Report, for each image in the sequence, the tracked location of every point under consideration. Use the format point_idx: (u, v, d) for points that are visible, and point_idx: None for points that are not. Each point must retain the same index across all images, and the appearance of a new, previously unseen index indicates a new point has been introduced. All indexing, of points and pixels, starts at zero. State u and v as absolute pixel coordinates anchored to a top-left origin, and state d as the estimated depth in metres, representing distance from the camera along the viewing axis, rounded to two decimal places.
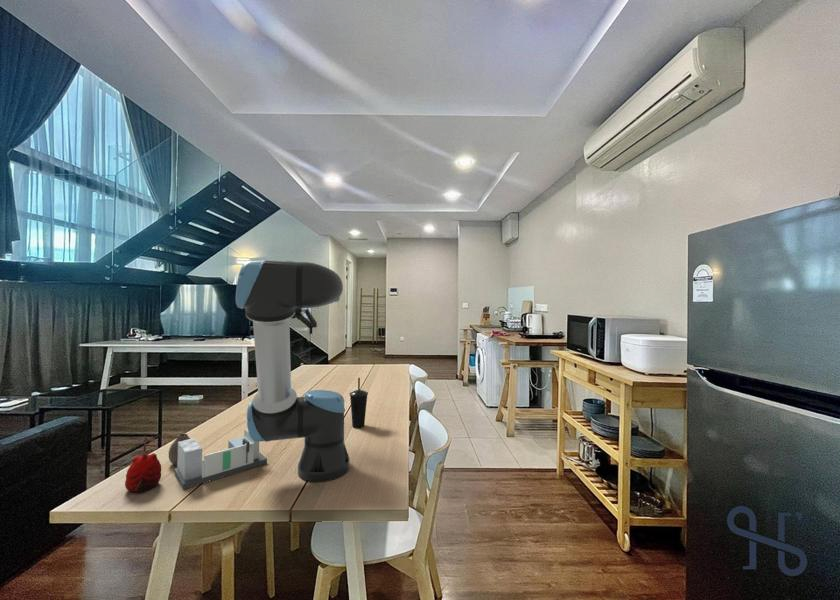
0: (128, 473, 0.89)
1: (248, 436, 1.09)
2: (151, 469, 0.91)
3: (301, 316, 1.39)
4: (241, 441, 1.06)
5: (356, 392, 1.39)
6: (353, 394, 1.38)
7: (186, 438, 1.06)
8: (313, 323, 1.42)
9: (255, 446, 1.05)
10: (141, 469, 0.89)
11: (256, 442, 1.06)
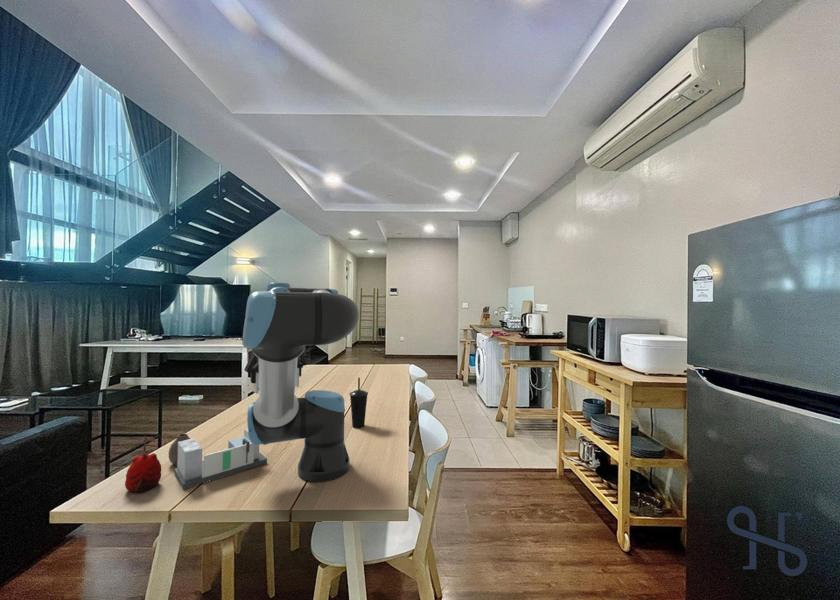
0: (128, 473, 0.89)
1: (248, 436, 1.09)
2: (151, 469, 0.91)
3: None
4: (241, 441, 1.06)
5: (356, 392, 1.39)
6: (353, 394, 1.38)
7: (186, 438, 1.06)
8: (303, 359, 1.21)
9: (255, 446, 1.05)
10: (141, 469, 0.89)
11: None
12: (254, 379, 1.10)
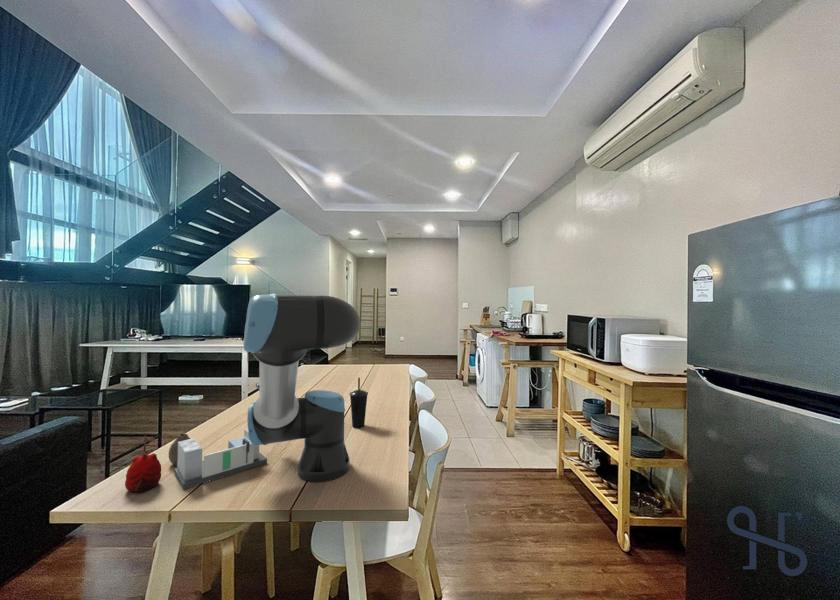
0: (128, 473, 0.89)
1: (248, 436, 1.09)
2: (151, 469, 0.91)
3: None
4: (241, 441, 1.06)
5: (356, 392, 1.39)
6: (353, 394, 1.38)
7: (186, 438, 1.06)
8: None
9: (255, 446, 1.05)
10: (141, 469, 0.89)
11: None
12: None
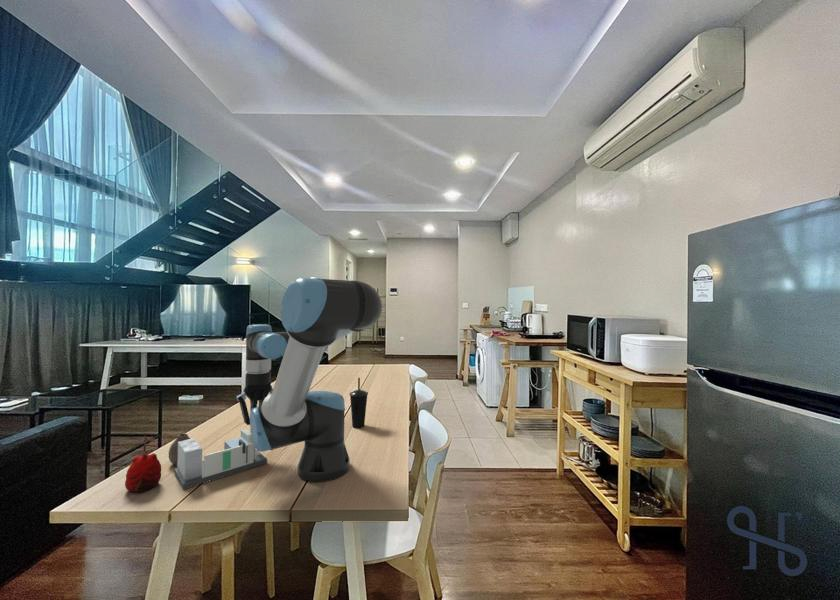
0: (128, 473, 0.89)
1: (244, 437, 1.08)
2: (151, 469, 0.91)
3: None
4: (237, 442, 1.06)
5: (356, 392, 1.39)
6: (353, 394, 1.38)
7: (186, 438, 1.06)
8: None
9: None
10: (141, 469, 0.89)
11: None
12: None
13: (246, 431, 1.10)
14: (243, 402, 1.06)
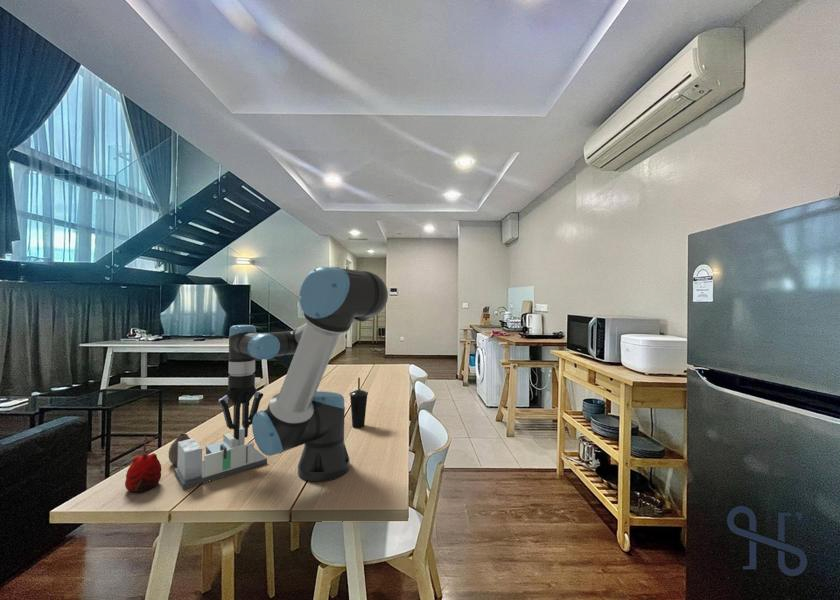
0: (128, 473, 0.89)
1: (227, 441, 1.04)
2: (151, 469, 0.91)
3: None
4: (219, 447, 1.02)
5: (356, 392, 1.39)
6: (353, 394, 1.38)
7: (186, 438, 1.06)
8: (254, 416, 1.08)
9: None
10: (141, 469, 0.89)
11: None
12: (237, 435, 1.05)
13: (229, 435, 1.06)
14: (225, 405, 1.03)
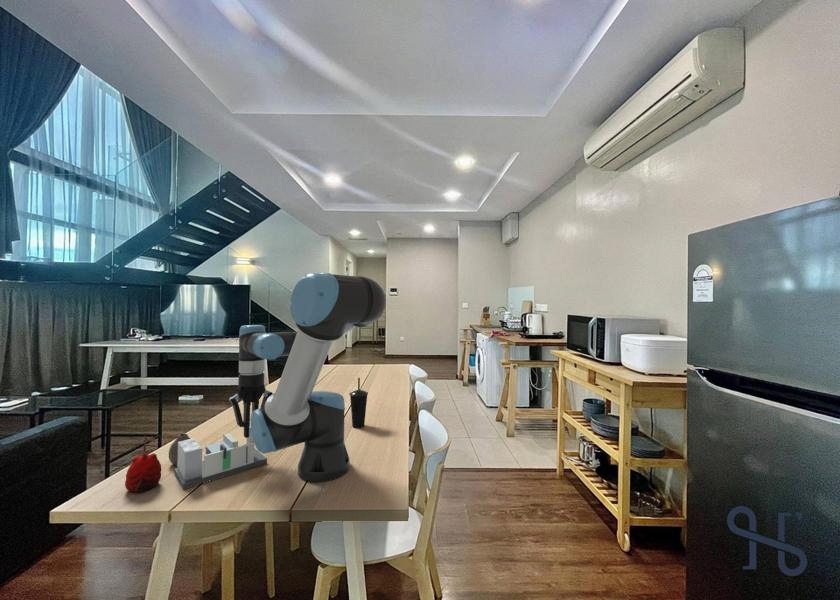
0: (128, 473, 0.89)
1: (227, 441, 1.04)
2: (151, 469, 0.91)
3: None
4: (219, 447, 1.02)
5: (356, 392, 1.39)
6: (353, 394, 1.38)
7: (186, 438, 1.06)
8: None
9: None
10: (141, 469, 0.89)
11: None
12: (247, 433, 1.07)
13: (229, 435, 1.06)
14: (236, 404, 1.05)
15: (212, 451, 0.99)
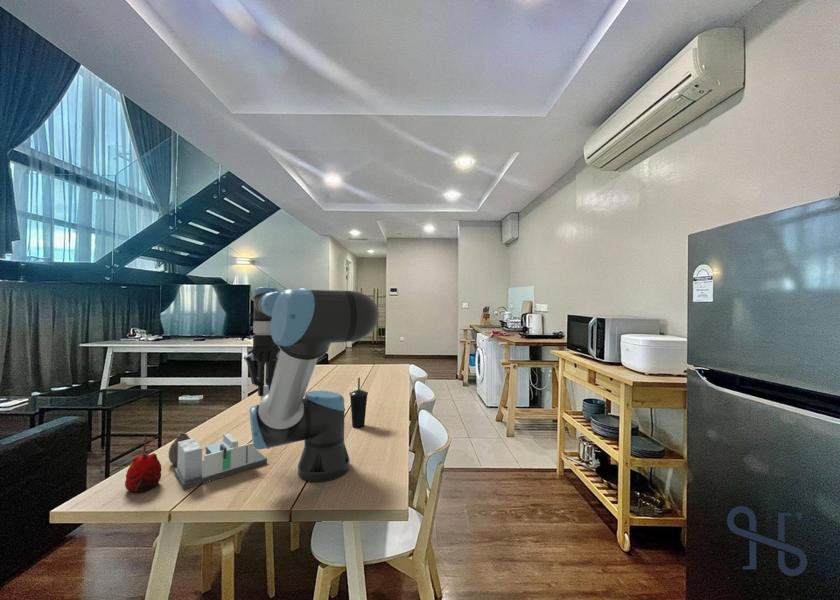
0: (128, 473, 0.89)
1: (227, 441, 1.04)
2: (151, 469, 0.91)
3: None
4: (219, 447, 1.02)
5: (356, 392, 1.39)
6: (353, 394, 1.38)
7: (186, 438, 1.06)
8: None
9: None
10: (141, 469, 0.89)
11: None
12: (262, 392, 1.10)
13: (229, 435, 1.06)
14: (251, 362, 1.08)
15: (212, 451, 0.99)
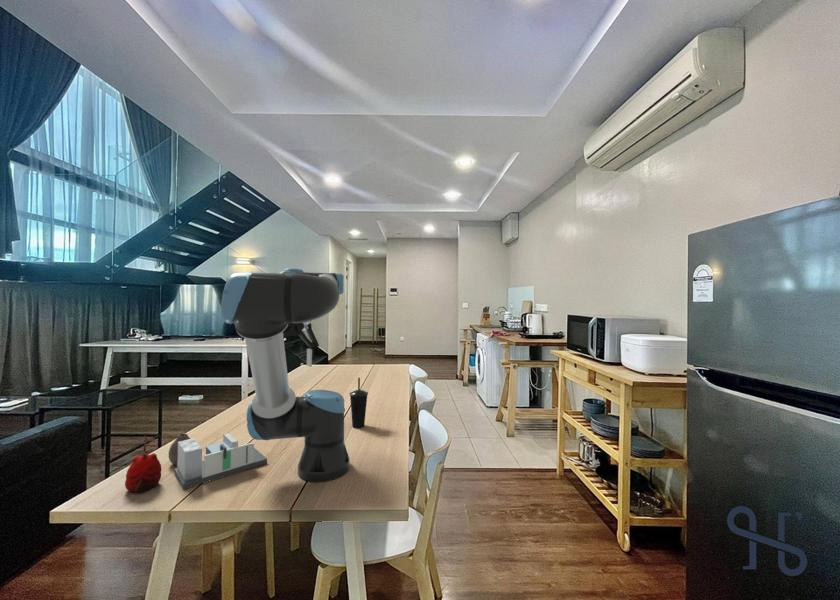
0: (128, 473, 0.89)
1: (227, 441, 1.04)
2: (151, 469, 0.91)
3: None
4: (219, 447, 1.02)
5: (356, 392, 1.39)
6: (353, 394, 1.38)
7: (186, 438, 1.06)
8: (315, 341, 1.30)
9: None
10: (141, 469, 0.89)
11: None
12: None
13: (229, 435, 1.06)
14: None
15: (212, 451, 0.99)
